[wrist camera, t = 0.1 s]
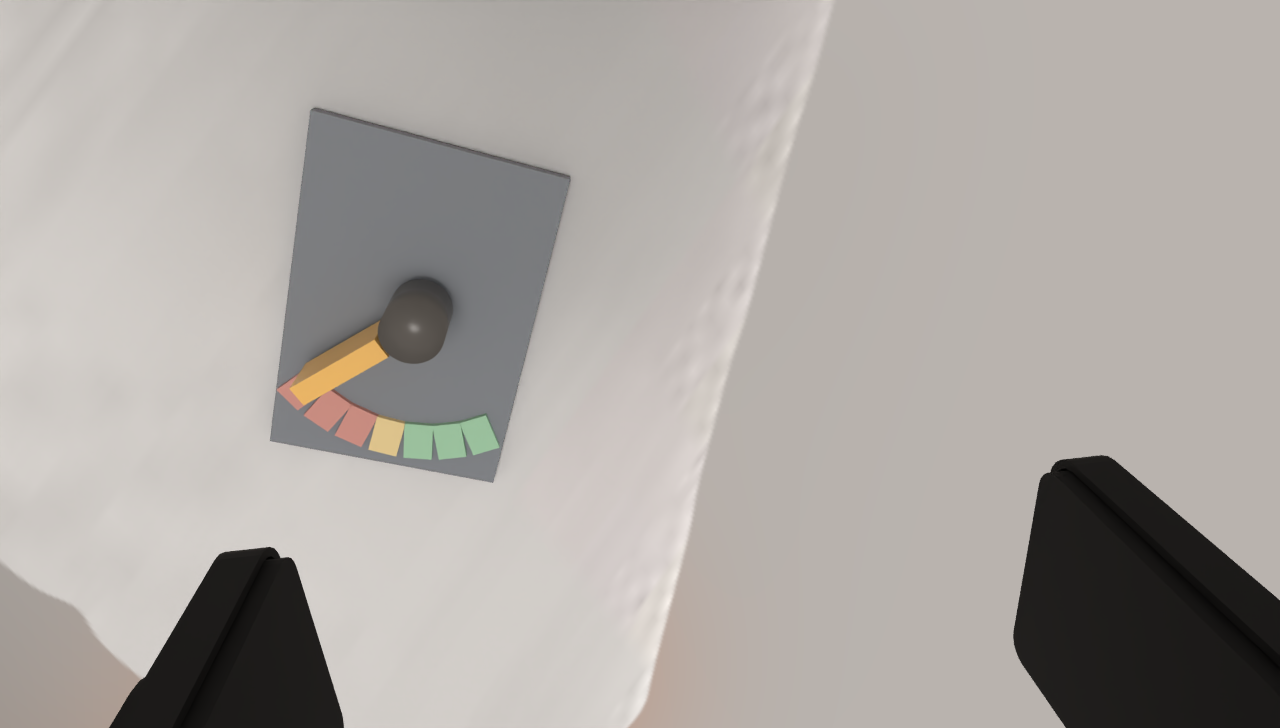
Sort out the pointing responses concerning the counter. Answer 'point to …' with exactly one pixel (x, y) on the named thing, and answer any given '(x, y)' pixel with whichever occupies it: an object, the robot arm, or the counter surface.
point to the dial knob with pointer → (383, 340)
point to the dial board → (400, 252)
